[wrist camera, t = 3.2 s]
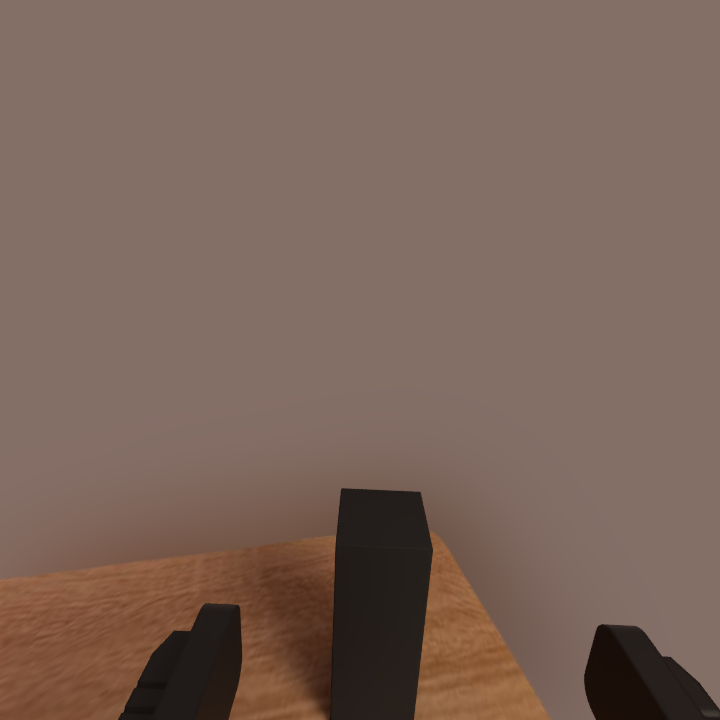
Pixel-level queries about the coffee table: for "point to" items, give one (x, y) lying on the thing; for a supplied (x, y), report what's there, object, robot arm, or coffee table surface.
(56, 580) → the coffee table surface
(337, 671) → the post
